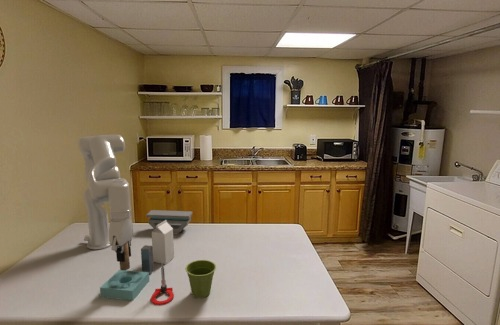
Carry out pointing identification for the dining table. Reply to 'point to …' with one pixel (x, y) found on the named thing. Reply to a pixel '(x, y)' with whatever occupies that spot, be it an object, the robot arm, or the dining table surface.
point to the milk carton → (163, 243)
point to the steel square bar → (147, 259)
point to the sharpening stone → (170, 219)
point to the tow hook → (162, 290)
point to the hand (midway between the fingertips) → (124, 258)
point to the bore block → (124, 285)
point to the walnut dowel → (125, 264)
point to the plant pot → (200, 277)
